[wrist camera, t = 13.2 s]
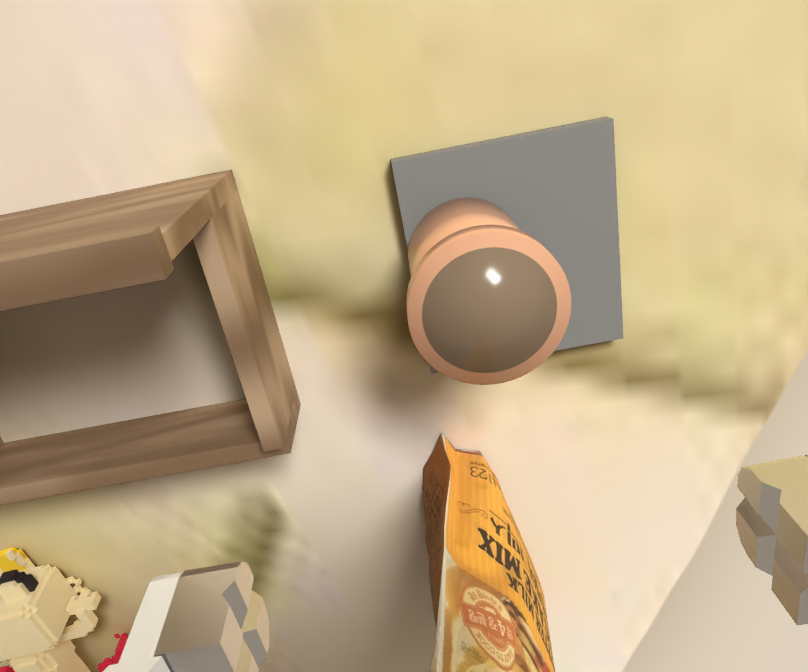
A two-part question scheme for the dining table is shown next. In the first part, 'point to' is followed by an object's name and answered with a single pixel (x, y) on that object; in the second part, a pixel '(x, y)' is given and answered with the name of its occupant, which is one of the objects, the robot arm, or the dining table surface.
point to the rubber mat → (539, 207)
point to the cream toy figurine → (44, 617)
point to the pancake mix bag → (479, 572)
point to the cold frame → (132, 265)
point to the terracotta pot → (483, 294)
